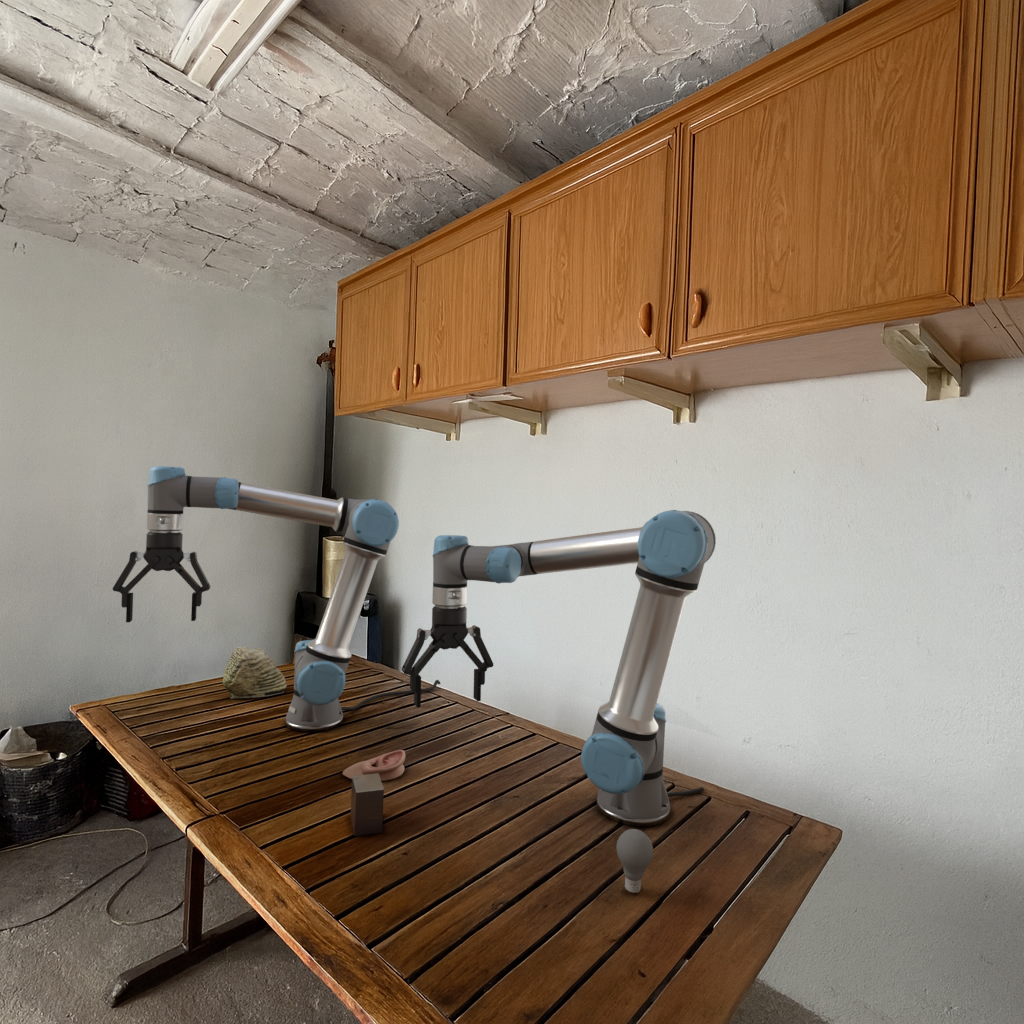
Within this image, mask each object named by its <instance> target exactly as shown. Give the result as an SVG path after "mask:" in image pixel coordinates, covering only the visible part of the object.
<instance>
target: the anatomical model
mask: <svg viewBox="0 0 1024 1024" xmlns="http://www.w3.org/2000/svg"><path fill="white" fill-rule="evenodd" d="M405 760H406V751H405V750H403V749H397V750H393V751H390V752H387V753H383V754H381V755H378V756H375V757H373V758H370V759H367V760H363V761H359V762H356V763H354V764H352V765H350V766H348V767H346V768H345V769H344V770H343V771H342V776H344V777H346V778H348V779H349V780H352V776H356V775H366V774H375V773H379V776H380V779H381V782H382V781H388V780H393V779H396V778H398V777H400V776H402V775H403V773H404V772H405V765H404V763H405Z"/></svg>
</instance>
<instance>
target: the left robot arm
mask: <svg viewBox="0 0 1024 1024" xmlns="http://www.w3.org/2000/svg"><path fill="white" fill-rule="evenodd" d="M185 470H186V469H185V468H184V467H180V466H162V465H161V466H160V465H153V466H152V467H151V468H150V469H149V473H148V474H149V475H148V484H147V511H146V512H147V514H146V515H147V516H146V530H147V531H148V532H147V533H146V538H145V540H146V543H145V551H144V552H140V551H137V550H134V551H131V552H130V553H129V559H128V562H127V564H126V565H125V567H124V569H123V570H122V572H121V574H120V575H119V577H118V578H117V580H116V582H115V583H114V585H113V587H112V591H113V592H117V593H120V594H121V607H122V608H125V609H126V611H125V613H126V614H125V615H126V616H125V623H131V622H132V621H133V613H134V612H133V611H134V592H131V590H132V589H134V587H135V586H136V585H137V584H138V583H139V582H140V581H142V579H143V578H144V577H145V576H146V575H147V574H148V573H149V572H150V571H151V570H153V571H155V572H161V571H165V572H172V571H175V572H176V573H177V574H178V575H179V576H180V577H181V578H182V579H183V580H184V581H185V582H186V584H187V585H188V586H189V587H190V588H191V589H192V590H193V592H192V594H191V614H190V615H191V616H190V621H191V622H195V621H196V620H197V607H201V606H202V602H203V593H204V592H208V591H209V590H210V589H211V584H210V582H209V580H208V579H207V577H206V575H205V573H204V571H203V569H202V567H201V565H200V563H199V561H198V554H197V552H196V551H191V552H185V553H184V551H183V539H184V538H183V535H184V534H183V533H182V532H181V531H183V530H184V508H203V509H221V510H231V511H232V510H233V511H238V512H243V513H250V514H255V515H256V514H257V515H261V516H267V517H273V518H279V519H285V520H290V521H297V522H301V523H307V524H313V525H319V526H324V527H329V528H332V529H333V531H334V532H338V533H342V534H345V535H344V537H343V540H342V545H343V546H344V549H345V551H344V555H343V558H342V561H341V564H340V567H339V570H338V572H337V576H336V578H335V582H334V585H333V587H332V590H331V593H330V595H329V599H328V602H327V605H326V608H325V610H324V613H323V616H322V619H321V622H320V625H319V626H318V627H319V628H318V630H317V633H316V636H315V638H313V639H307V640H300V641H298V642H297V643H295V648H294V649H295V650H294V672H293V673H294V674H293V675H294V676H293V695H292V696H293V697H292V699H291V702H290V704H289V707H288V711H287V713H286V715H285V726H286V728H287V729H289V730H291V731H294V732H295V731H296V732H301V733H316V732H325V731H329V730H332V729H335V728H337V727H339V726H340V725H342V723H343V722H344V714H343V711H344V712H345V711H349V712H351V711H355V710H357V709H359V708H361V707H362V706H363V705H365V704H367V703H369V702H371V701H374V700H377V699H380V698H383V697H384V698H385V697H389V696H400V695H408V694H409V695H410V694H414V691H413V692H412V691H411V689H409V690H400V691H399V690H398V691H389V692H383V693H379V694H375V695H372V696H370V697H368V698H366V699H364V700H362V701H361V702H360V701H359V703H358V704H356V705H354V706H341V702H340V699H339V697H340V696H341V695H342V693H343V692H344V690H345V686H346V681H347V679H346V677H347V676H346V673H347V670H348V668H349V665H350V661H351V660H352V659H351V658H352V653H351V651H350V649H349V646H350V644H351V640H352V638H353V634H354V632H355V628H356V626H357V623H358V620H359V617H360V615H361V611H362V608H363V605H364V602H365V599H366V597H367V594H368V591H369V588H370V585H371V582H372V579H373V576H374V573H375V571H376V568H377V564H378V562H379V561H380V560H381V559H383V558H385V557H386V556H387V553H388V550H389V547H390V544H391V542H392V541H393V540H394V539H395V537H396V535H397V534H398V531H399V527H400V520H399V516H398V514H397V512H396V510H395V509H394V508H393V506H392V505H390V504H389V503H388V502H386V501H385V500H382V499H378V498H366V499H364V498H363V499H359V498H357V499H356V498H347V497H340V498H339V499H334V498H333V499H332V498H327V497H321V496H316V495H311V494H306V493H299V492H296V491H290V490H284V489H279V488H275V487H268V486H263V485H257V484H252V483H247V482H241V481H238V479H236V478H232V477H227V476H226V477H225V476H224V477H223V476H222V477H220V476H219V477H217V476H192V475H187V474H186V471H185ZM142 559H144V560H145V562H146V563H147V564H146V565H145V566H144V567H143V568H142V569H141V570H140V571H139V572H138V573H137V574H136V576H135V577H133V578H132V579H131V581H129V582H128V583H127V584H126V585H125V586H124V584H125V583H126V581H127V579H128V577H129V576H130V574H131V572H132V571H133V569H134V568H135V566H136V564H137V562H139V561H141V560H142ZM184 559H186V561H187V562H188V563H190V565H191V567H192V569H193V571H194V573H195V574H196V576H197V579H198V580H199V582H200V584H199V583H198V582H197V581H196V580H195V579H194V578H193V576H192V575H191V574H190V573H189V572H188V571H187V570H186V569H185V567H184V566H183V565H182V564H181V562H182V561H183V560H184ZM437 685H441V681H440V680H439V679H436V680H435V681H434V683H433V684H432V686H433V687H432V686H430V687H427V688H426V687H425V688H421V693H425V692H430V691H433V690H434V689H435V688H436V687H437Z"/></svg>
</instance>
